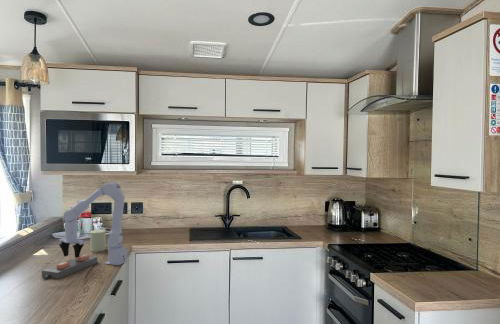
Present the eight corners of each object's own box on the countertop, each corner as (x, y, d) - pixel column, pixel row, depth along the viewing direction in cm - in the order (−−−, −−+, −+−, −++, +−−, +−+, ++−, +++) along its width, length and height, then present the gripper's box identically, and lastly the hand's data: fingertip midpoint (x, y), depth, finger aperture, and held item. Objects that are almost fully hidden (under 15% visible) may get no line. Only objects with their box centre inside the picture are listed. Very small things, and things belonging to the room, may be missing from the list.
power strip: (97, 262, 189) (97, 257, 189) (52, 281, 162) (52, 274, 162) (83, 260, 192) (82, 255, 192) (36, 278, 165) (36, 272, 165)
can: (88, 252, 209) (88, 232, 209) (91, 248, 218) (91, 229, 218) (104, 251, 212) (104, 231, 212) (107, 247, 221) (106, 228, 220)
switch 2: (89, 258, 186) (89, 254, 186) (81, 261, 181) (81, 257, 181) (84, 257, 187) (84, 254, 187) (77, 260, 182) (77, 256, 182)
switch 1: (69, 265, 174) (69, 261, 174) (61, 268, 169) (61, 264, 169) (64, 265, 175) (64, 261, 175) (56, 268, 170) (56, 264, 170)
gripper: (54, 232, 185) (55, 257, 185) (76, 234, 180) (76, 260, 181) (65, 229, 191) (65, 253, 192) (86, 231, 187) (86, 256, 187)
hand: (71, 256), depth 187 cm, fingers open, 7 cm apart
